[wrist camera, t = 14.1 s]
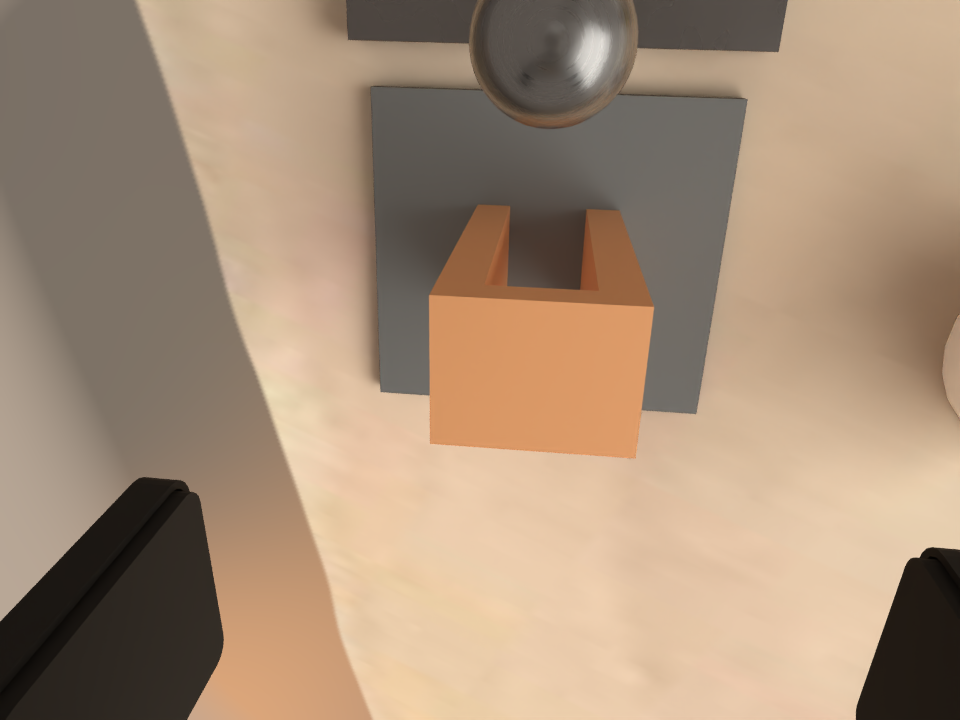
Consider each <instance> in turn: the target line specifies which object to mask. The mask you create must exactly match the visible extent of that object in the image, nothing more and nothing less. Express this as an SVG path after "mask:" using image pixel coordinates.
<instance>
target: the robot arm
mask: <svg viewBox="0 0 960 720" xmlns="http://www.w3.org/2000/svg"><path fill="white" fill-rule="evenodd" d="M223 641H224V639H223V630H222V624H221V618H220V612H219V607H218V601H217V596H216V589H215V584H214V578H213V572H212V566H211V560H210V554H209V549H208V543H207V537H206V531H205V525H204V520H203V514H202V509H201V502H200V499H199V496H198V495H197V494H196V493H194V492H190V491H189V488H188V486H187V485H186V483H185V482H183V481H181V480H170V479H158V478H146V477H143V478H139V479H137V480H136V481H135V482H133V483H132V484H131V485H130V486H129V487H128V489H127V490H126V491H125V492H124V493H123V494H122V495H121V496H120V497H119V498H118V499H117V500H116V501H115V502H114V503H113V504H112V505H111V506H110V507H109V508H108V509H107V511H106V512H105V513H104V514H103V515H102V516H101V517H100V518H99V519H98V520H97V521H96V522H95V523H94V524H93V525H92V526H91V527H90V528H89V529H88V530H87V532H85V534H84V535H83V536H82V537H81V538H80V539H79V540H78V541H77V542H76V543H75V544H74V545H73V546H72V547H71V548H70V549H69V550H68V551H67V552H66V554H64V556H63V557H62V558H61V559H60V560H59V561H58V562H57V563H56V564H55V565H54V566H53V567H52V568H51V569H50V570H49V571H48V572H47V573H46V575H44V576H43V577H42V579H41V580H40V581H39V582H38V583H37V584H36V585H35V586H34V587H33V588H32V589H31V590H30V591H29V592H28V593H27V594H26V595H25V596H24V597H23V598H22V600H21V601H20V602H19V603H18V604H17V605H16V606H15V607H14V608H13V609H12V610H11V611H10V612H9V613H8V614H7V615H6V616H5V617H4V618H3V620H2V621H0V720H187V719H188V717H189V715H190V713H191V711H192V709H193V708H194V706H195V704H196V702H197V700H198V698H199V697H200V695H201V693H202V691H203V690H204V688H205V686H206V684H207V682H208V681H209V679H210V677H211V675H212V673H213V671H214V670H215V668H216V666H217V664H218V662H219V660H220V657H221V653H222V649H223ZM856 720H960V550H956V549H945V548H934V547H932V548H927V549H926V550H925V551H924V552H923V553H922V554H921V556H920V558H911V559H910V560H909V561H908V562H907V564H906V566H905V569H904V572H903V574H902V577H901V580H900V583H899V586H898V589H897V592H896V595H895V597H894V600H893V603H892V606H891V609H890V612H889V615H888V618H887V620H886V623H885V626H884V629H883V632H882V635H881V638H880V640H879V643H878V646H877V649H876V652H875V655H874V658H873V661H872V663H871V666H870V669H869V672H868V675H867V678H866V681H865V684H864V686H863V689H862V692H861V695H860V698H859V701H858V704H857V708H856Z"/></svg>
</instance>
